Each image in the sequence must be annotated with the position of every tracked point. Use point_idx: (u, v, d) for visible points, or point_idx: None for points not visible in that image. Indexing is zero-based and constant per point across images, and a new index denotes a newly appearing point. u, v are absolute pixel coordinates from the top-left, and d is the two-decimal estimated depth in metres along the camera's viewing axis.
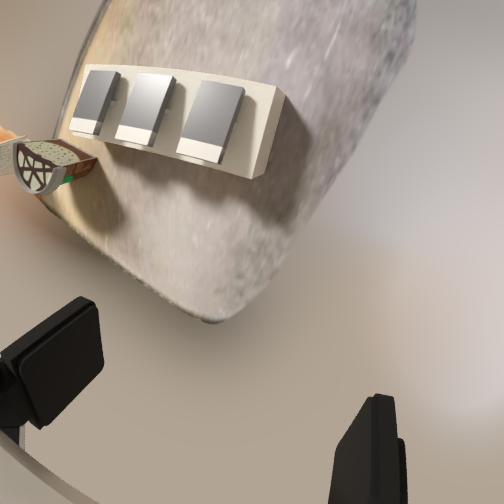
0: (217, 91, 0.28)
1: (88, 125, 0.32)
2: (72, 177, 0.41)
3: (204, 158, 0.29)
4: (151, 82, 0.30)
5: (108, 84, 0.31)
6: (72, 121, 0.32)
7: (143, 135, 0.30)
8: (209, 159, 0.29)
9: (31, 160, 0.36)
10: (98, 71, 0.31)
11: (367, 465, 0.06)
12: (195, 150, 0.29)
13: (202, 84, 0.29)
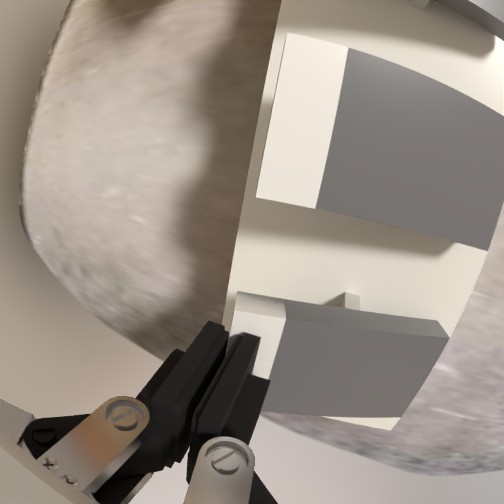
0: (405, 379, 0.11)
1: None
2: None
3: None
4: (487, 178, 0.08)
5: (489, 7, 0.05)
6: None
7: (299, 174, 0.08)
8: None
9: None
10: None
11: None
12: None
13: (437, 342, 0.10)
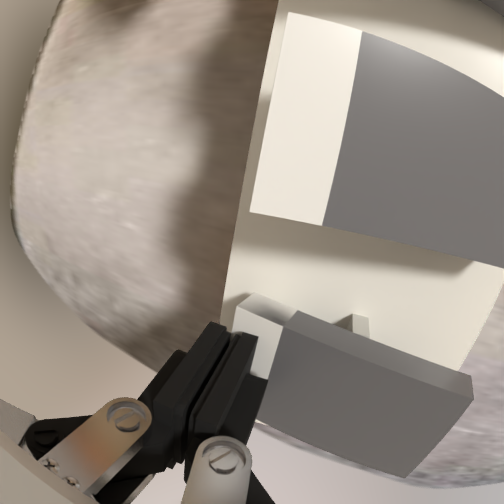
0: (413, 434, 0.08)
1: None
2: None
3: None
4: None
5: None
6: None
7: (303, 184, 0.07)
8: None
9: None
10: None
11: None
12: None
13: (456, 400, 0.07)
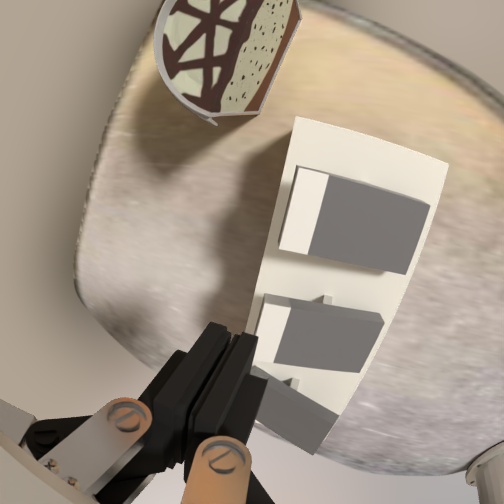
0: (312, 434, 0.21)
1: (300, 232, 0.17)
2: None
3: None
4: (358, 347, 0.20)
5: (382, 265, 0.18)
6: (317, 178, 0.16)
7: (267, 352, 0.20)
8: None
9: (233, 15, 0.14)
10: (420, 230, 0.17)
11: None
12: None
13: (326, 423, 0.20)
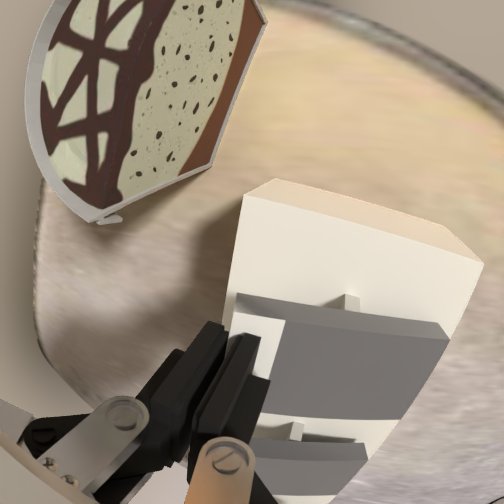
0: None
1: None
2: None
3: None
4: (333, 479, 0.14)
5: (367, 415, 0.11)
6: (266, 325, 0.10)
7: None
8: None
9: (121, 37, 0.08)
10: (429, 372, 0.10)
11: None
12: None
13: None
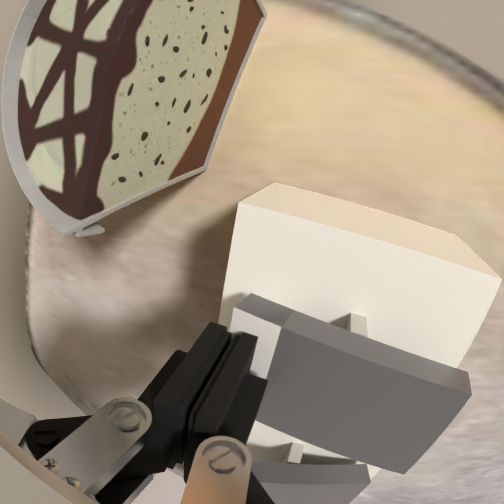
0: None
1: None
2: None
3: None
4: (334, 501, 0.12)
5: (366, 458, 0.09)
6: (262, 328, 0.10)
7: None
8: None
9: (100, 27, 0.07)
10: (442, 427, 0.08)
11: None
12: None
13: None
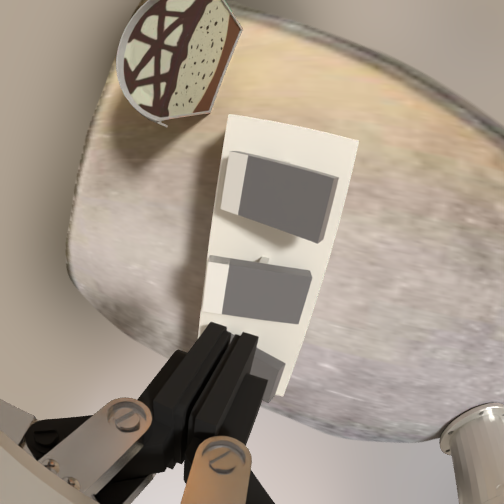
0: None
1: (232, 197, 0.24)
2: None
3: None
4: (292, 299, 0.25)
5: (294, 231, 0.22)
6: (241, 157, 0.22)
7: (215, 304, 0.25)
8: None
9: (173, 40, 0.19)
10: (326, 201, 0.20)
11: None
12: None
13: (273, 369, 0.26)
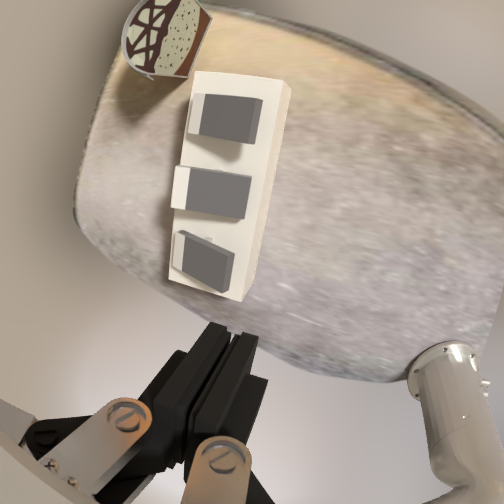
0: (217, 270, 0.34)
1: (195, 123, 0.32)
2: None
3: (174, 256, 0.38)
4: (237, 197, 0.33)
5: (233, 138, 0.30)
6: (201, 96, 0.30)
7: (180, 201, 0.33)
8: (173, 260, 0.38)
9: (158, 23, 0.27)
10: (252, 114, 0.28)
11: None
12: (177, 248, 0.37)
13: (223, 256, 0.33)
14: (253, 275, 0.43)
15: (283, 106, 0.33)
